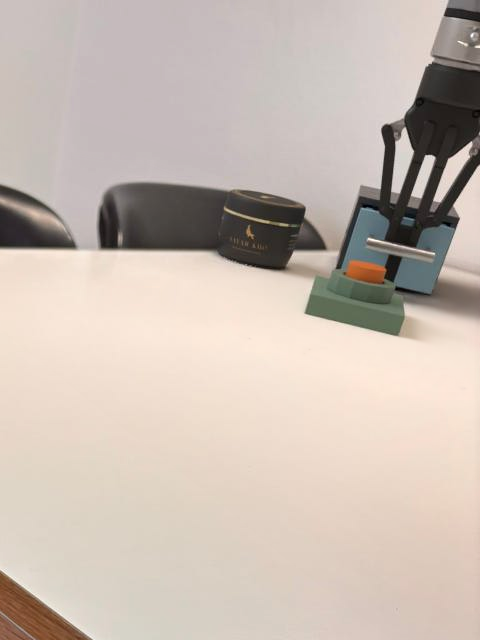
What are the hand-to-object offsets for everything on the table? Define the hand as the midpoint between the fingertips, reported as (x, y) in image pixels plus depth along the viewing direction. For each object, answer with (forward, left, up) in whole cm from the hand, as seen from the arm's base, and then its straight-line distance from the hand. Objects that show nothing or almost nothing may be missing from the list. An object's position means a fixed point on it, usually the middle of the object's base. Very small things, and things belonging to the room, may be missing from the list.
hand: (386, 281), depth 131 cm
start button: (-9, +14, +2) cm, 17 cm away
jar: (+14, +10, -2) cm, 17 cm away
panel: (-9, +14, -2) cm, 17 cm away
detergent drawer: (+5, -5, -1) cm, 7 cm away
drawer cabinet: (+11, -11, -2) cm, 16 cm away
